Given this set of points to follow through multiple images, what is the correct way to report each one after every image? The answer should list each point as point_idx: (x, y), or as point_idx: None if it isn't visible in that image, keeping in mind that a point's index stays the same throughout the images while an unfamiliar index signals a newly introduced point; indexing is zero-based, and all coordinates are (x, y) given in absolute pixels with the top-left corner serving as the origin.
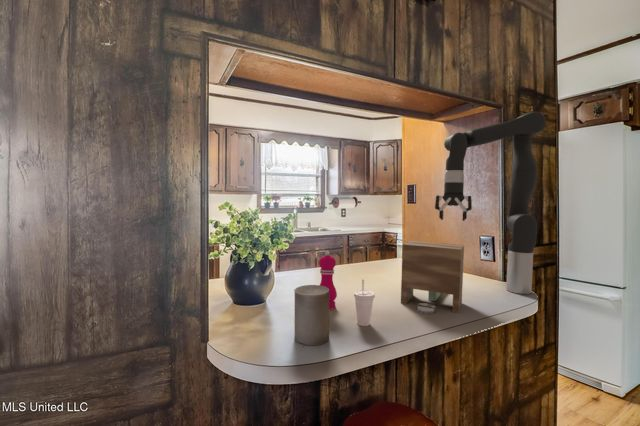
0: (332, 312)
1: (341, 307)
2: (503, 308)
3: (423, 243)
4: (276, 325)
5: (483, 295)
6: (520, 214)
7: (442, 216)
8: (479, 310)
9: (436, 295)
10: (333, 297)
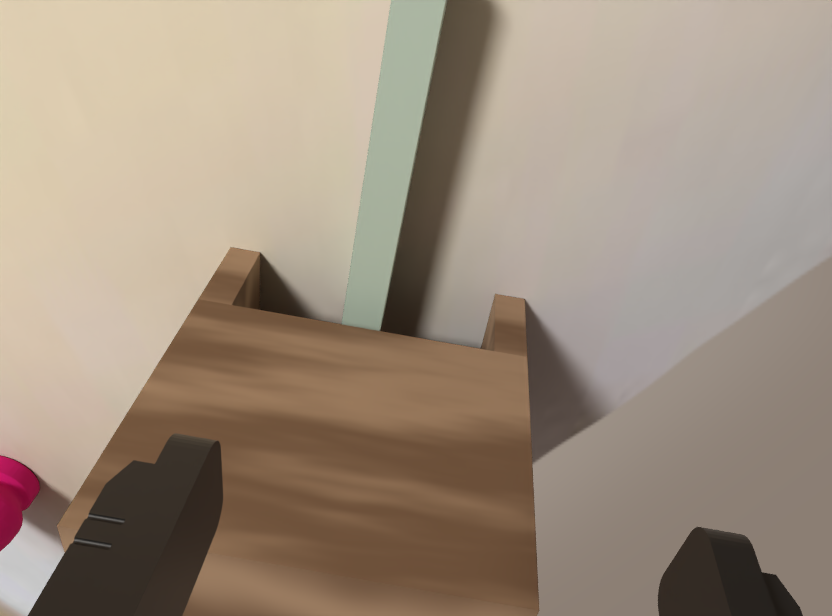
0: (60, 510)
1: (55, 470)
2: (735, 317)
3: (210, 612)
4: (4, 595)
5: (719, 93)
6: None
7: (191, 585)
8: (591, 374)
9: (387, 295)
10: (19, 529)
